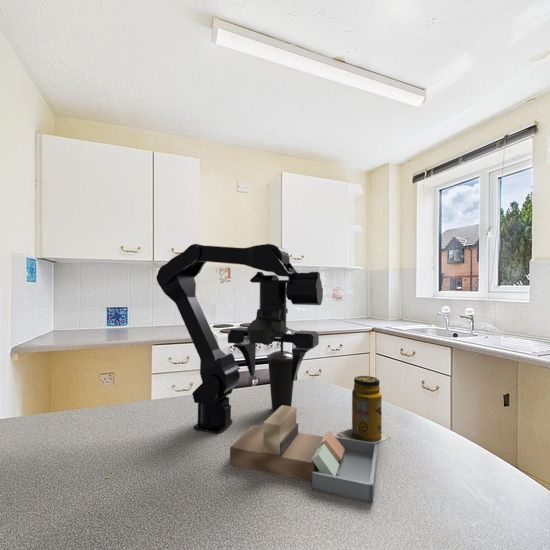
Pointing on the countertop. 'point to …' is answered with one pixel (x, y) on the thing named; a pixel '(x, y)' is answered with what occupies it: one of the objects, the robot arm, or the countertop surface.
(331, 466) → the tile sage
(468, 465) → the countertop surface
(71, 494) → the countertop surface
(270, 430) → the tall cream block
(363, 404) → the condiment
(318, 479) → the tray
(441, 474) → the countertop surface
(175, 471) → the countertop surface
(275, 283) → the robot arm
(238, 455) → the walnut board
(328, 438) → the tile terracotta
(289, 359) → the drinking cup
